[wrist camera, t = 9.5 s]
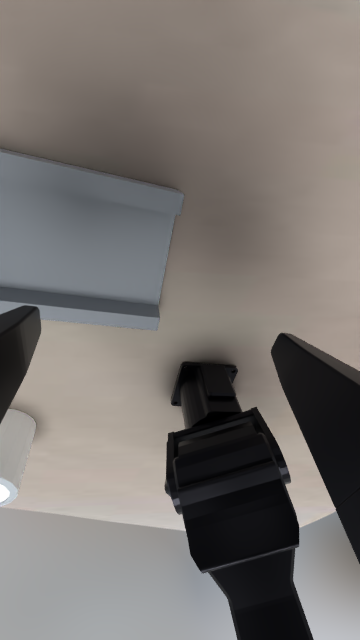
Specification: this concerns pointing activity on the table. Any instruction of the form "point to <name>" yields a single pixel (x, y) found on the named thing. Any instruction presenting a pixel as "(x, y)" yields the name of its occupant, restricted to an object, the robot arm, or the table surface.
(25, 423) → the shot glass
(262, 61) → the table surface
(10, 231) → the track
